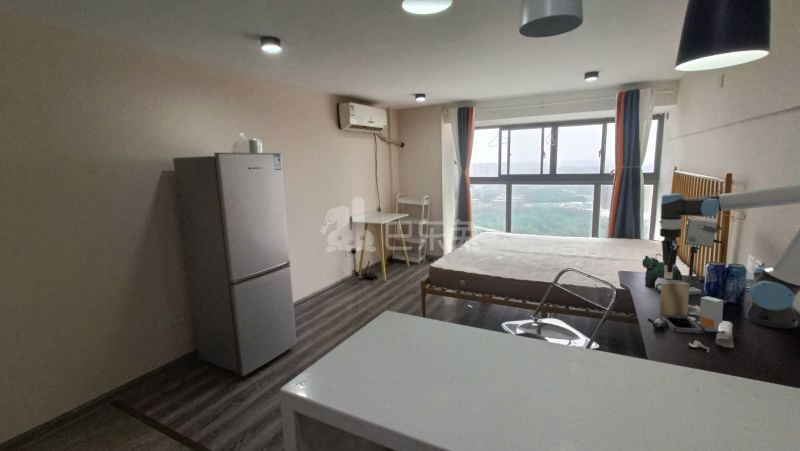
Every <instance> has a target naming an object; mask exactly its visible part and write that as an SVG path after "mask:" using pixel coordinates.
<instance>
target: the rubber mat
mask: <svg viewBox="0 0 800 451" xmlns="http://www.w3.org/2000/svg"><path fill="white" fill-rule="evenodd" d="M695 323H696V324H697V325H698V326H700V327H701V328H702V329H703V330H704V331H706V332H712V333H718V332H717V329H712V328H710V327H707V326H704V325H701V324H699V323H700V321H699V320H698V321H695Z"/></svg>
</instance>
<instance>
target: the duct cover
mask: <svg viewBox="0 0 800 451" xmlns="http://www.w3.org/2000/svg"><path fill="white" fill-rule="evenodd" d="M661 284H662V285H661V290H660V291H661V293H660V304H659V305H660V307H659V314H660V315H661V314H662V315H681V316H688V311H689V297H690V283H687V282H685V283H665V282H661Z"/></svg>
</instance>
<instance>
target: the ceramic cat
mask: <svg viewBox="0 0 800 451" xmlns="http://www.w3.org/2000/svg"><path fill="white" fill-rule="evenodd" d="M658 255H659V256H660V257H663V254H660V253H657V254H656V255H655V257H649V256H648V255H645V257H644V259H643V260H642V266H643V268H645V269H646V272H645V276H644V277H645V278H644V280H645V281H644V282H645V284H644V286H645V287H646V288H656V282H657V280H658V279H663V280H665V281H667V280H677V281H682V282H684V281H683V276H682V272H681V270H680V269H679V267H678V266H677V264H675V265H673V278H672V279H665V278H664V272H665V263H664V262H663V261H660V260H658V258H657V256H658Z"/></svg>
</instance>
